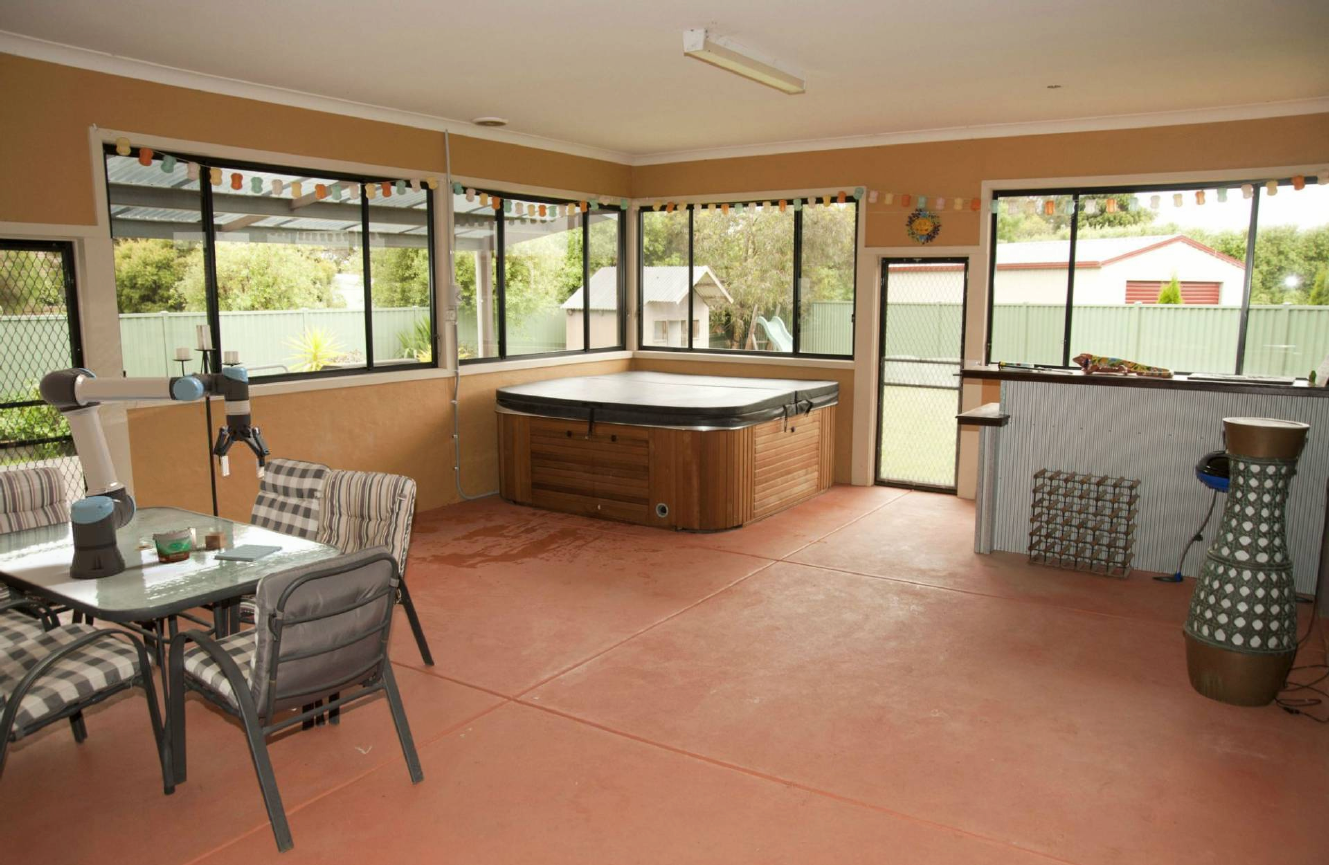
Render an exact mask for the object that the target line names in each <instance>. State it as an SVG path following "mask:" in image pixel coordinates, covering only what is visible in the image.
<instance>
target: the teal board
mask: <svg viewBox="0 0 1329 865" xmlns="http://www.w3.org/2000/svg"><path fill="white" fill-rule="evenodd" d="M281 549H282V550H283V546H281V545H278V546H277V545H275V546H274V545H264V544H263V545H261V544H246V543H245V544H241V545H239V546H237V547H235V548H231V549H229V550H226V551H223V552H220V553H219V554H218V553H217V554H216V555H214V559H215V560H229V561H242V562H244V561H246V562H256V561H258V560H261V559H263V558H264V557H267V556H270V555H272V554H274V552H275V553H277V552H279V551H282V550H281ZM276 551H277V552H276Z"/></svg>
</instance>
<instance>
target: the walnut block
mask: <svg viewBox="0 0 1329 865" xmlns="http://www.w3.org/2000/svg"><path fill="white" fill-rule="evenodd" d="M204 539H205V540H204V541H205V542H204V543H205V550H206V549H218V550H222V549H223V548H226V547H227V546H228V539H227V532H226V531H217V532H216V531H213V532H209V533H208V534H205V535H204Z"/></svg>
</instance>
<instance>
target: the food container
mask: <svg viewBox="0 0 1329 865" xmlns="http://www.w3.org/2000/svg"><path fill="white" fill-rule="evenodd" d="M187 528H188V529H187V530H182V531H179V530H173V531H169V532H166V533H153V535H152V541H154V543H155V549H156V553H157V554H156V555H157V559H158V563H161V564H173V563H174V564H176V563H180V562H184V561H187V560H189V559H190V554H191V553H190V552H191V551H190V536H191V535H192V531H191V529H190V528H191V527H190V526H187Z"/></svg>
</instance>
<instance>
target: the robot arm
mask: <svg viewBox="0 0 1329 865" xmlns="http://www.w3.org/2000/svg"><path fill="white" fill-rule="evenodd" d="M38 386H39V387H38V391H39V395H40V397H41V398H42V400H44V402H45V403H46V404H48V405H50V406H52V407H55V408H58V412H59V414H60V415H61V416H63V417H65V418H66V420H67V422H68V426H69V429H70V433H71V436H72V439H73V442H74V446H75V449H76V452H77V457H78V459H79V462H80V466H81V468H82V472H83V475H84V480H85V482H86V486H87V491H86V492H85V493H84V498H82V499H79V500H76V501H75V502H73V503H72V504H71V506H70V512H69V517H70V523H71V531H72V539H73V540H72V541H73V542H72V543H73V550H74V551H73V557H72V560H71V561H72V562H71V566H70V568H69V576H70V578H73V579H79V580H80V579H81V580H85V579H86V580H87V579H89V580H90V579H98V578H103V577H104V578H105V577H109V576H110V577H111V576H113V575H117V574H120V573H123V572H124V571H125V570H126V561H125V559H124V558H123V556H122V553H121V551H120V549H119V547H118V541H117V530H119V529H122V528H124V527H125V526H127V525H128V524H129V523H130V522H131V521H132V520H133V518H134V517H135V515H136V511H137V503H136V501H135V499H134V498H133V497H132V496H131V494H128V492H127V490H126V486H125V484H123V483H120V482H119V481H118V478H117V475H116V472H115V468H114V463H113V461H112V458H111V454H110V451H109V447H108V444H107V440H106V437H105V433H104V430H103V427H102V424H101V420H100V416H99V414H98V411H99V409H100V408H101V405H102V404H101V403H103V402H104V403H105V402H107V403H108V402H109V403H110V402H156V401H157V402H158V401H160V402H161V401H162V402H163V401H164V402H166V401H167V402H169V401H177V402H178V401H180V402H181V401H182V402H187V403H189V402H190V403H191V402H194V401H197V400H200V399H202V398H205V397H223V398H224V412H225V413H226V415H225V420H226V421H225V423H226V426H223V427H219V428H218V429H219V430H218V436H217V439H216V442H215V445H214V447H213V450H212V455H216V456H217V457H218V465H219V466H220V468H221V476H222V477H226V476H229V475H230V467H229V456H228V455H227V453H228V452H229V450H230V449H231V447H232V446H233V444H234V443H235V442H244V443H246V445H247V446H249V448H250V449H251V450H252V451H253V453H254V454H255V455H256V456H257V457H255V467H256V468H255V469H256V477H257V478H261V477H264V476H265V467H266V459H265V457H267V456H269V455H270V453H271V451H269V448H268V446H267V444H266V443H265V440H264V438H263V436H262V434H261V430H260V427H254V428H253V427H251V423H252V416H251V413H250V412H251V404H250V391H249V378H248V371H247V368H246V367H245V366H224V367H222V369H221V372H220V373H219V372H218V373H189V374H185V375H184V376H142V377H141V376H139V377H138V376H132V377H131V376H128V377H124V376H123V377H120V376H119V377H117V376H116V377H110V376H108V377H98V376H97V375H96V374H95V373H94V372H92V371H90V370H88V369H86V368H80V367H79V368H78V367H69V368H66V369H60V370H53V371H50V372H48V373H47V374H46V375H44V376H43V377H42V379H41V380H40V382H39V385H38ZM227 435H228V436H227Z"/></svg>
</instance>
